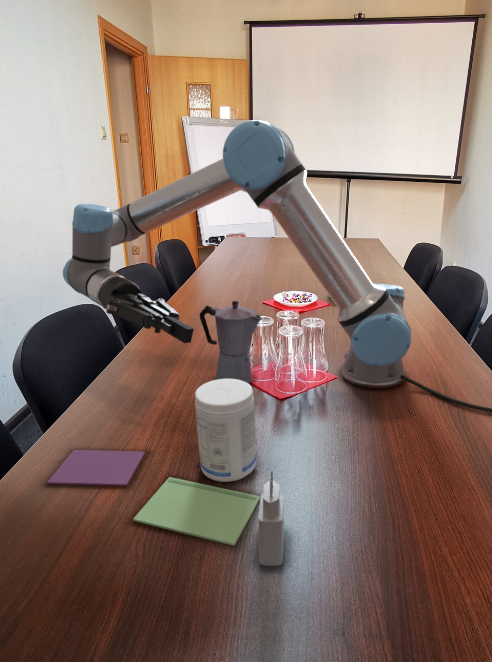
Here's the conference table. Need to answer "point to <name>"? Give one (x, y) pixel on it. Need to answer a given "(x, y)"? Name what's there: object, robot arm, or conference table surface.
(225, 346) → the moka pot
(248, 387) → the supplement tub
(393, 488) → the conference table surface
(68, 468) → the plum cloth
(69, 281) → the robot arm
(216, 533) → the sage cloth
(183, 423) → the conference table surface
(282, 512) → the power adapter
